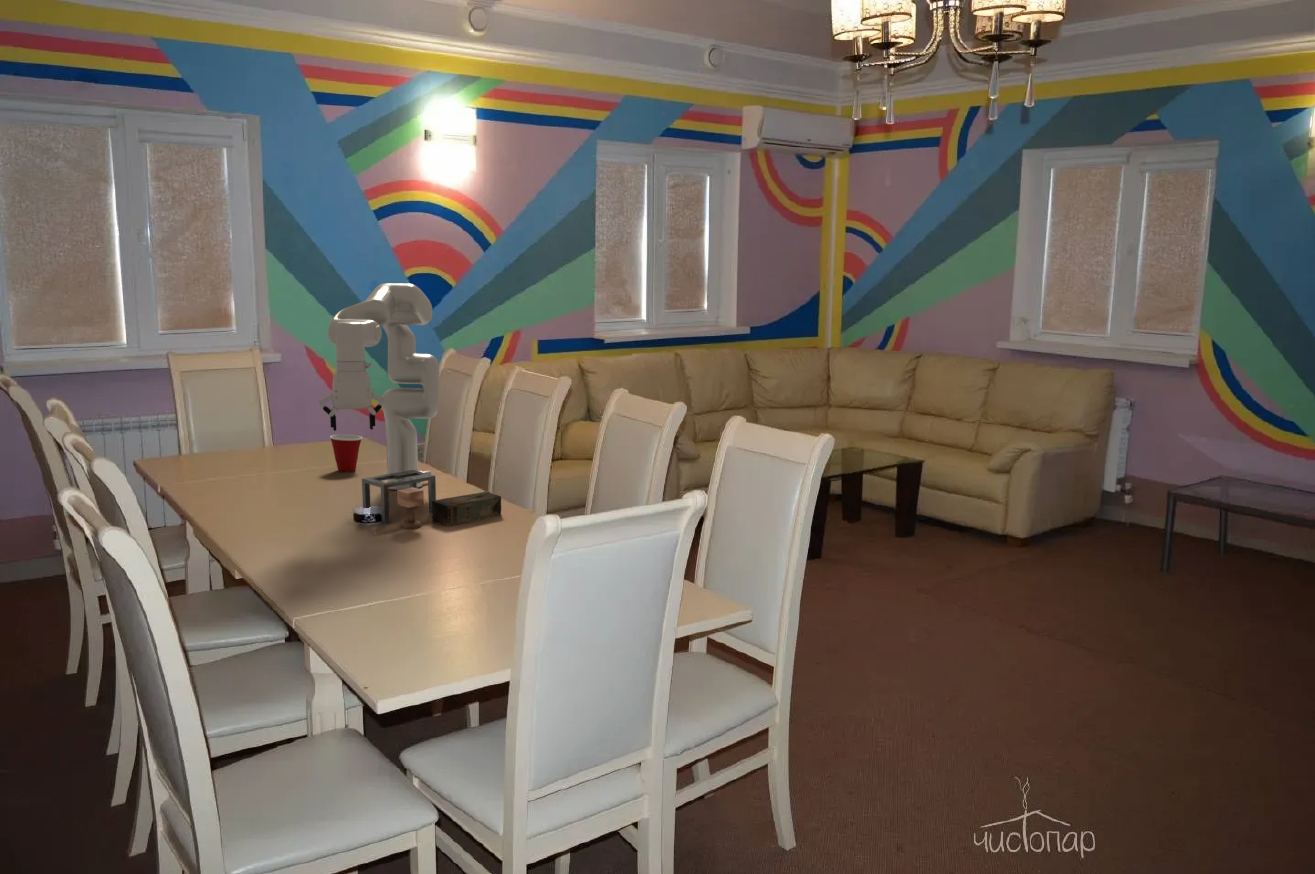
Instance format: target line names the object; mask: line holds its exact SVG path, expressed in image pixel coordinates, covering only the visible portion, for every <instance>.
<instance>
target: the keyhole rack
mask: <svg viewBox="0 0 1315 874" xmlns="http://www.w3.org/2000/svg"><path fill="white" fill-rule="evenodd" d="M420 471H421V470H419V471H416V470H409V471H403V472H397V473H391V474H387V473H386V474H381V475H380V474H379V475H375V476H370V477H369V476H368V477H363V478H361V489H362V490H361V491H362V493H361V495H362V509H363V508H369V507H371V491H370V490H371V486H375V487H378V488H380V501H381V502H380V503H381V505H380V506H381V508H380V509H381V523H382V524H390V523H391V522H390V493H389V492H390V491H389V490H390V489H389V487H394V486H400V485H405V484H409V488H412V487H413V488H417V484H416V482H422V481H423V482H427V487H428V488H427V490H428V491H427V492H428V494H427V495H428V513H429V514H431V515H432V501H435V500H437V494H436V493H437V491H436V489H437V487H436V485H437V484H436V483H437V481H436V475H435V474H432V473H431V474H427V473H423V472H424V471H422V472H420ZM388 479H396V480H397V479H402V480H397V481H391V482H385V481H387V480H388ZM417 489H418V488H417ZM417 507H418V506H415V508H417Z"/></svg>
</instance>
